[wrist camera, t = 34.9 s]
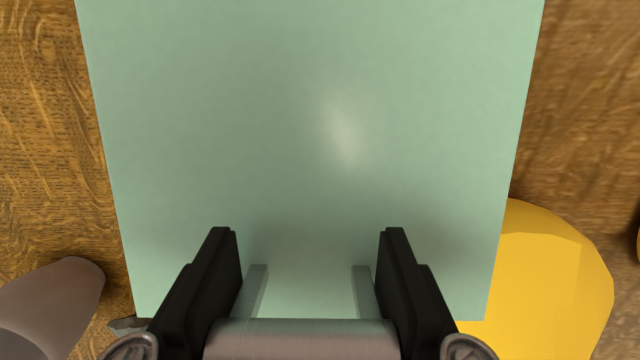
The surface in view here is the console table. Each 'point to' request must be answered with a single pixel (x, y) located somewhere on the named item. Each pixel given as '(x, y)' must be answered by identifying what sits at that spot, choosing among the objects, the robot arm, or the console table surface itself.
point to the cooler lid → (310, 153)
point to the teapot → (638, 245)
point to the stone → (128, 325)
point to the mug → (48, 309)
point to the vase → (543, 290)
